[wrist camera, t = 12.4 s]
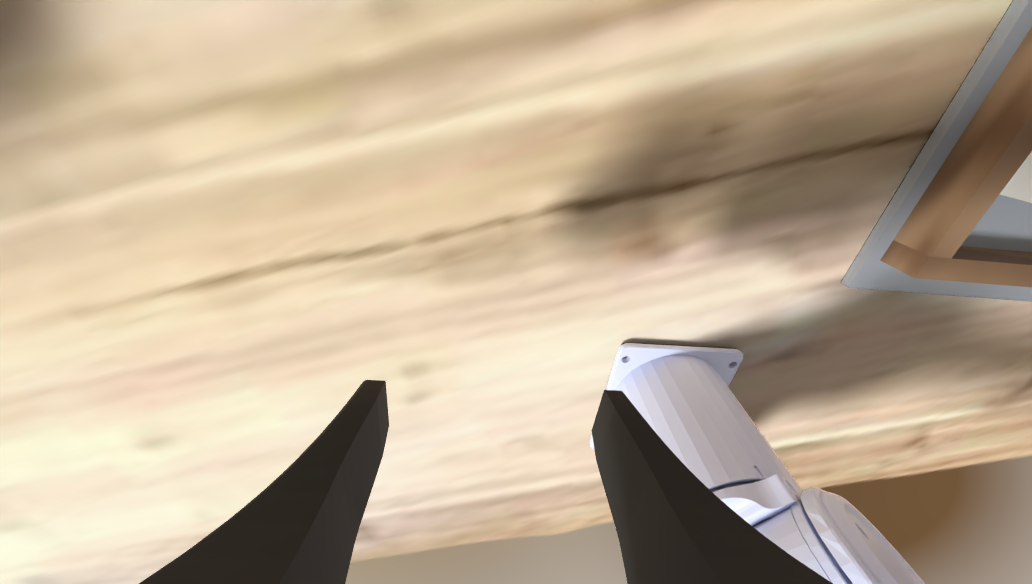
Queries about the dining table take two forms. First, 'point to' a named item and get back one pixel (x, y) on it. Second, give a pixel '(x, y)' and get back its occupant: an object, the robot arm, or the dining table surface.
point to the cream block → (1021, 182)
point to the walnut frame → (973, 190)
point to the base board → (1003, 221)
